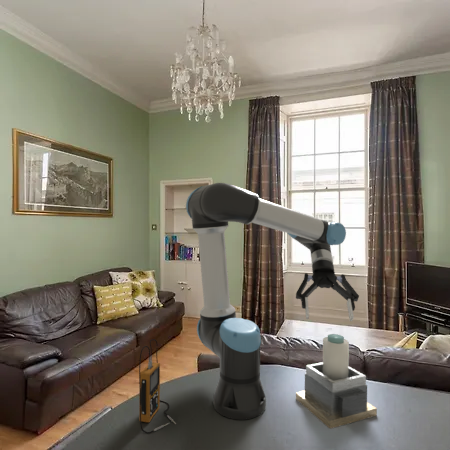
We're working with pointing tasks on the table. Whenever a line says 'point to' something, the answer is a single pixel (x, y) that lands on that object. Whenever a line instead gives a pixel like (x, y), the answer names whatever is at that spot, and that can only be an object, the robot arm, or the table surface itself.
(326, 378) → the grey open box
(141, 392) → the multimeter
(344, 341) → the cream bottle
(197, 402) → the table surface
